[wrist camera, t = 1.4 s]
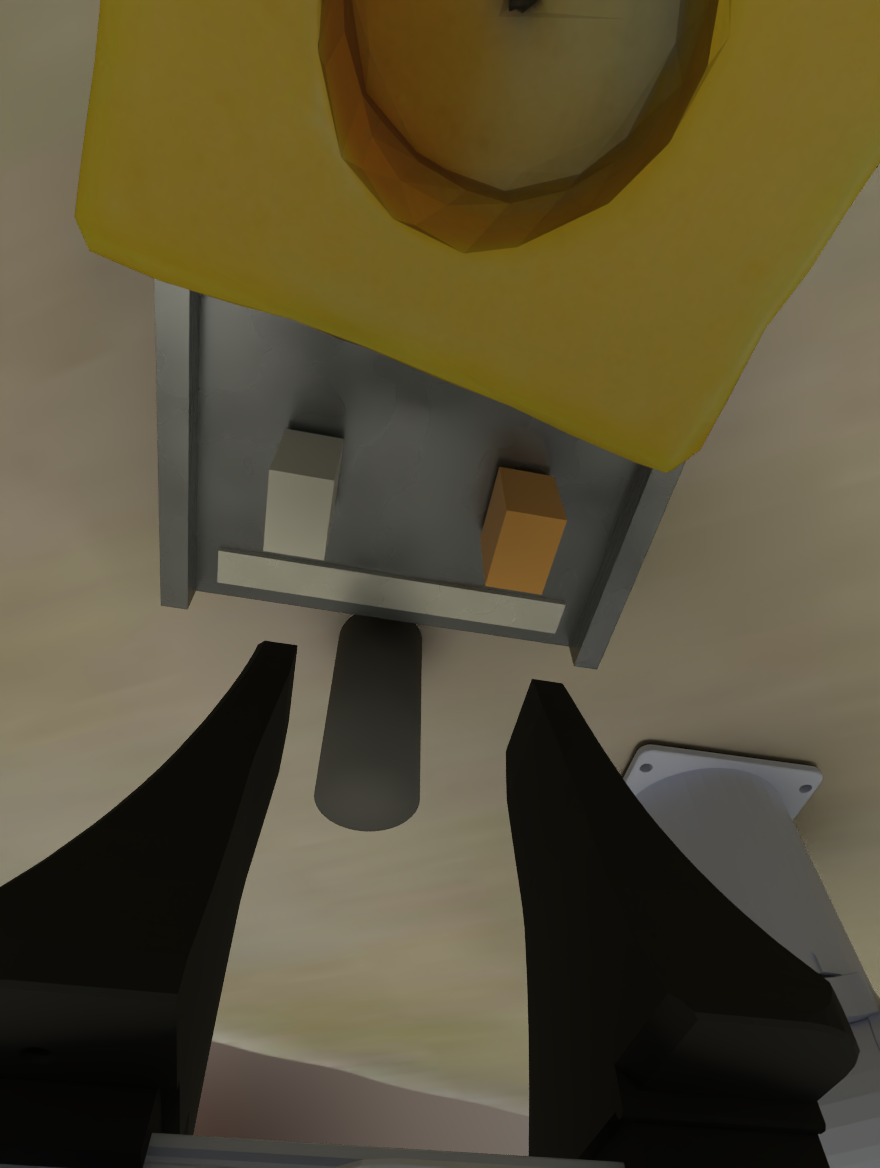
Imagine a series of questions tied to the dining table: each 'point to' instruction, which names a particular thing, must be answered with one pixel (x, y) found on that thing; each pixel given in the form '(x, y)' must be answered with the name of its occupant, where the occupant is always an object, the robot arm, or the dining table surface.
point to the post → (372, 727)
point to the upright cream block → (302, 494)
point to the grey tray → (377, 483)
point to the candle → (494, 183)
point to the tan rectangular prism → (521, 531)
